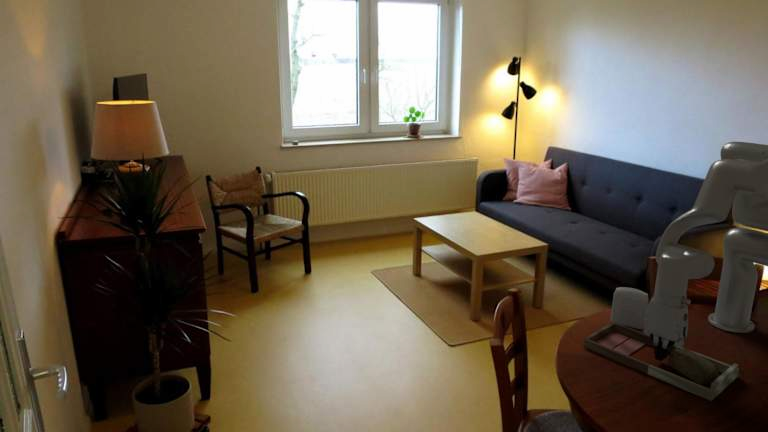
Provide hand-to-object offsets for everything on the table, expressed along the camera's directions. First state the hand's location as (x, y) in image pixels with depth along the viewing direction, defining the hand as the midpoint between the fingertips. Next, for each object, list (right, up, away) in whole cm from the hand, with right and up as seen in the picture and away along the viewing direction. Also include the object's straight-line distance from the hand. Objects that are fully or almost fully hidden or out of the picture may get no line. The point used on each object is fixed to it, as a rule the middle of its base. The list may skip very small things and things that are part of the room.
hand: (660, 358), depth 155 cm
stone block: (+6, -3, -5) cm, 8 cm away
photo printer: (+1, +5, +23) cm, 23 cm away
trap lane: (0, -1, +1) cm, 2 cm away
